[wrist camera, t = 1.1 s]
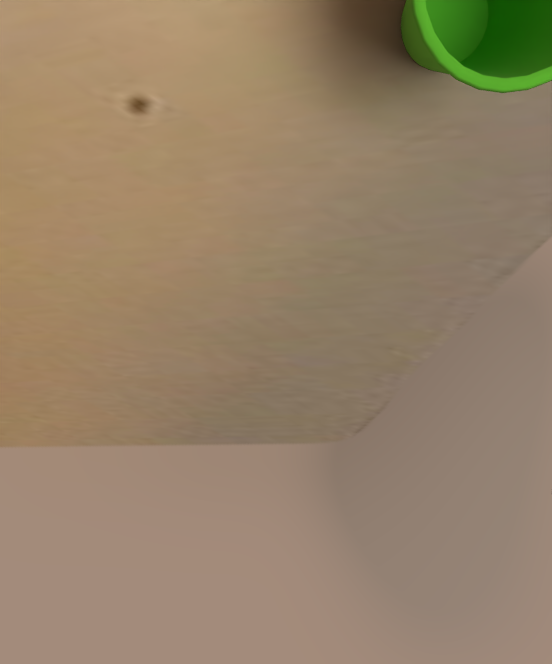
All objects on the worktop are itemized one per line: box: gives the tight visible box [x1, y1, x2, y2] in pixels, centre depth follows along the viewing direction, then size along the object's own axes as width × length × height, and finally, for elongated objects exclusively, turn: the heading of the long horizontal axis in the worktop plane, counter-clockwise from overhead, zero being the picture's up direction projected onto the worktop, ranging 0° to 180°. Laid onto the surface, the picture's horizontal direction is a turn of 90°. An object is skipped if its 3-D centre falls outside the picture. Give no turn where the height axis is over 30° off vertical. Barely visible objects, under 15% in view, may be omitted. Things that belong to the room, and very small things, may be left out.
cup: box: [401, 0, 552, 93], centre depth 25 cm, size 9×9×11 cm
